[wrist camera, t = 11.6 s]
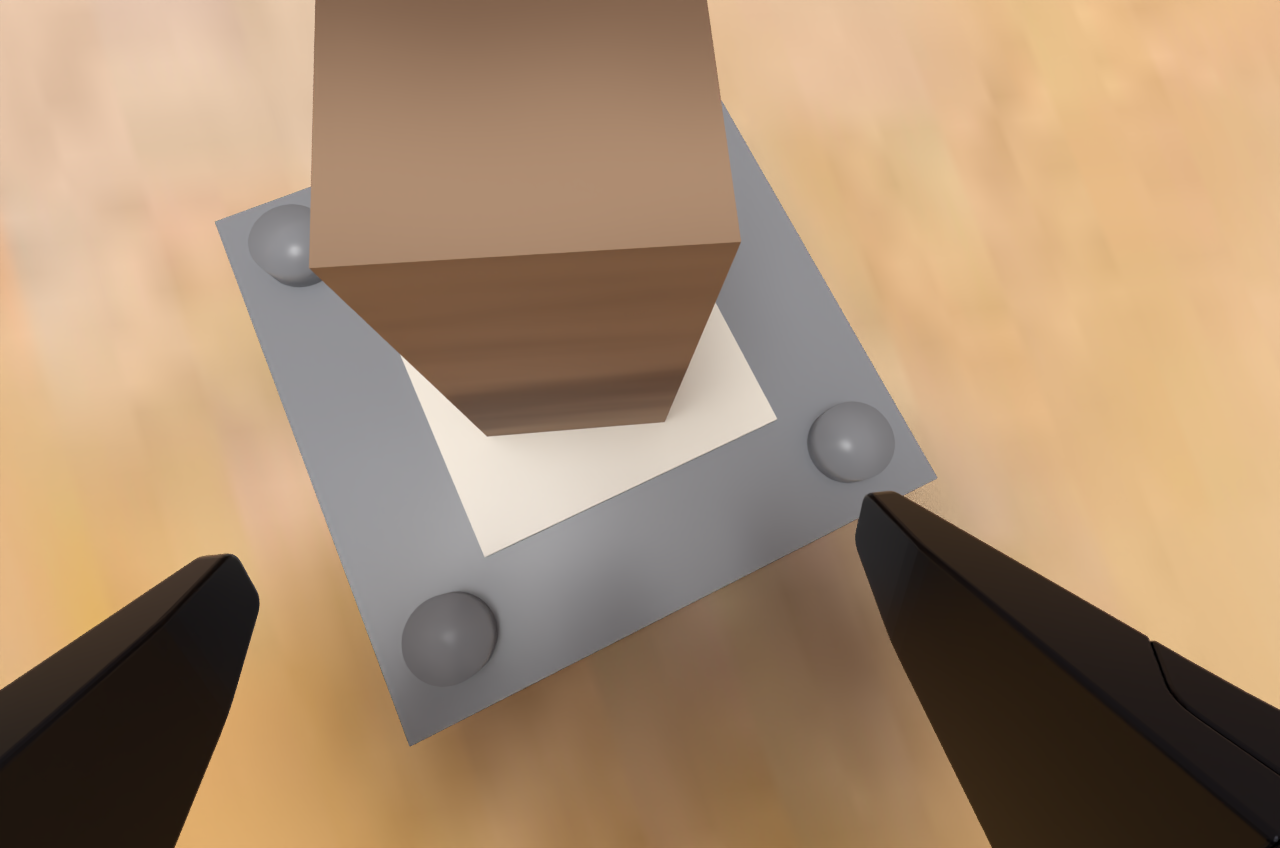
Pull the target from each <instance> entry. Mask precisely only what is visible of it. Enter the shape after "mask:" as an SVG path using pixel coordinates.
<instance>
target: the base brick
mask: <svg viewBox="0 0 1280 848" xmlns="http://www.w3.org/2000/svg"><path fill="white" fill-rule="evenodd" d="M721 103H722V111H723V118H724V125H725V132H726V139H727V146H728V153H729V160H730V167H731V174H732V181H733V188H734V195H735V202H736V209H737V216H738V223H739V230H740V237H741V243H740V246H739V248H738V251H737V253H736V255H735V258H734V260H733V262H732V265H731V267H730V269H729V272H728V274H727V276H726V279H725V281H724V284H723V286H722V288H721V291H720V293H719V295H718V298H717V300H716V302H715V305H714V307H713V309H712V312H711V314H710V317H709V319H708V321H707V324H706V326H705V328H704V331H703V333H702V335H701V338H700V340H699V342H698V345H697V347H696V350H695V352H694V354H693V357H692V359H691V361H690V364H689V366H688V368H687V371H686V373H685V375H684V378H683V380H682V383H681V385H680V387H679V390H678V392H677V394H676V397H675V399H674V401H673V404H672V406H671V408H670V411H669V413H668V416H667V418H666V420H665V422H660V423H648V424H636V425H623V426H611V427H599V428H587V429H574V430H562V431H550V432H538V433H525V434H513V435H501V436H489V437H487V436H486V435H485V434H484V433H483V432H482V431H481V430H479V429H478V428H477V427H476V426H475V425H474V424H473V423H472V422H471V421H470V420H469V419H468V418H467V417H466V416H465V415H464V414H463V413H462V412H460V411H459V410H458V409H457V408H456V407H455V406H454V405H453V404H452V403H451V402H450V401H449V400H448V399H447V398H446V397H445V396H444V395H442V394H441V393H440V392H439V391H438V390H437V389H436V388H435V387H434V386H433V385H432V384H431V383H430V382H429V381H428V380H427V379H426V378H425V377H423V376H422V375H421V374H420V373H419V372H418V371H417V370H416V369H415V368H414V367H413V366H412V365H411V364H410V363H409V362H408V361H407V360H406V359H404V358H403V357H402V356H401V355H400V354H399V353H398V352H397V351H396V350H395V349H394V348H393V347H392V346H391V345H390V344H389V343H388V342H387V341H385V340H384V339H383V338H382V337H381V336H380V335H379V334H378V333H377V332H376V331H375V330H374V329H373V328H372V327H371V326H370V325H369V324H367V323H366V322H365V321H364V320H363V319H362V318H361V317H360V316H359V315H358V314H357V313H356V312H355V311H354V310H353V309H352V308H351V307H350V306H348V305H347V304H346V303H345V302H344V301H343V300H342V299H341V298H340V297H339V296H338V295H337V294H336V293H335V292H334V291H333V290H332V289H331V288H329V287H328V286H327V285H326V284H325V283H324V282H323V281H322V280H321V279H320V278H319V277H318V276H317V275H316V274H315V273H314V272H313V271H311V270H310V269H309V248H310V207H311V187H309V188H306V189H303V190H300V191H298V192H295V193H292V194H290V195H287V196H284V197H281V198H279V199H276V200H273V201H270V202H268V203H265V204H262V205H259V206H257V207H254V208H251V209H248V210H246V211H243V212H240V213H237V214H235V215H232V216H229V217H226V218H224V219H221V220H218V221H216V222H215V224H216V226H217V229H218V232H219V234H220V237H221V240H222V243H223V245H224V248H225V251H226V253H227V256H228V259H229V261H230V264H231V267H232V269H233V272H234V275H235V278H236V280H237V283H238V286H239V288H240V291H241V294H242V296H243V299H244V302H245V304H246V307H247V310H248V313H249V315H250V318H251V321H252V323H253V326H254V329H255V331H256V334H257V337H258V339H259V342H260V345H261V348H262V350H263V353H264V356H265V358H266V361H267V364H268V366H269V369H270V372H271V374H272V377H273V380H274V383H275V385H276V388H277V391H278V393H279V396H280V399H281V401H282V404H283V407H284V410H285V412H286V415H287V418H288V420H289V423H290V426H291V428H292V431H293V434H294V436H295V439H296V442H297V445H298V447H299V450H300V453H301V455H302V458H303V461H304V463H305V466H306V469H307V471H308V474H309V477H310V480H311V482H312V485H313V488H314V490H315V493H316V496H317V498H318V501H319V504H320V506H321V509H322V512H323V515H324V517H325V520H326V523H327V525H328V528H329V531H330V533H331V536H332V539H333V541H334V544H335V547H336V550H337V552H338V555H339V558H340V560H341V563H342V566H343V568H344V571H345V574H346V576H347V579H348V582H349V585H350V587H351V590H352V593H353V595H354V598H355V601H356V603H357V606H358V609H359V612H360V614H361V617H362V620H363V622H364V625H365V628H366V630H367V633H368V636H369V638H370V641H371V644H372V647H373V649H374V652H375V655H376V657H377V660H378V663H379V665H380V668H381V671H382V673H383V676H384V679H385V682H386V684H387V687H388V690H389V692H390V695H391V698H392V700H393V703H394V706H395V708H396V711H397V714H398V717H399V719H400V722H401V725H402V727H403V730H404V733H405V735H406V738H407V741H408V743H409V746H412V745H414V744H416V743H418V742H420V741H422V740H424V739H426V738H428V737H430V736H432V735H434V734H436V733H438V732H440V731H442V730H444V729H445V728H447V727H449V726H451V725H453V724H455V723H457V722H459V721H461V720H463V719H465V718H467V717H469V716H471V715H473V714H475V713H477V712H479V711H481V710H483V709H485V708H487V707H489V706H491V705H493V704H495V703H497V702H499V701H500V700H502V699H504V698H506V697H508V696H510V695H512V694H514V693H516V692H518V691H520V690H522V689H524V688H526V687H528V686H530V685H532V684H534V683H536V682H538V681H540V680H542V679H544V678H546V677H548V676H550V675H552V674H554V673H556V672H557V671H559V670H561V669H563V668H565V667H567V666H569V665H571V664H573V663H575V662H577V661H579V660H581V659H583V658H585V657H587V656H589V655H591V654H593V653H595V652H597V651H599V650H601V649H603V648H605V647H607V646H609V645H611V644H612V643H614V642H616V641H618V640H620V639H622V638H624V637H626V636H628V635H630V634H632V633H634V632H636V631H638V630H640V629H642V628H644V627H646V626H648V625H650V624H652V623H654V622H656V621H658V620H660V619H662V618H664V617H666V616H667V615H669V614H671V613H673V612H675V611H677V610H679V609H681V608H683V607H685V606H687V605H689V604H691V603H693V602H695V601H697V600H699V599H701V598H703V597H705V596H707V595H709V594H711V593H713V592H715V591H717V590H719V589H721V588H723V587H724V586H726V585H728V584H730V583H732V582H734V581H736V580H738V579H740V578H742V577H744V576H746V575H748V574H750V573H752V572H754V571H756V570H758V569H760V568H762V567H764V566H766V565H768V564H770V563H772V562H774V561H776V560H778V559H779V558H781V557H783V556H785V555H787V554H789V553H791V552H793V551H795V550H797V549H799V548H801V547H803V546H805V545H807V544H809V543H811V542H813V541H815V540H817V539H819V538H821V537H823V536H825V535H827V534H829V533H831V532H833V531H835V530H836V529H838V528H840V527H842V526H844V525H846V524H848V523H850V522H852V521H854V520H856V519H858V518H859V515H860V510H861V506H862V501H863V499H864V497H865V495H867V494H868V493H871V492H882V491H895V492H897V493H899V494H901V495H905V494H907V493H909V492H911V491H913V490H915V489H917V488H919V487H921V486H923V485H925V484H927V483H929V482H931V481H933V480H935V479H937V476H936V474H935V473H934V471H933V469H932V467H931V466H930V464H929V462H928V460H927V459H926V457H925V455H924V453H923V452H922V450H921V448H920V446H919V445H918V443H917V441H916V439H915V438H914V436H913V434H912V432H911V431H910V429H909V427H908V425H907V424H906V422H905V420H904V418H903V417H902V415H901V413H900V411H899V410H898V408H897V406H896V405H895V403H894V401H893V399H892V398H891V396H890V394H889V392H888V391H887V389H886V387H885V385H884V384H883V382H882V380H881V378H880V377H879V375H878V373H877V371H876V370H875V368H874V366H873V364H872V363H871V361H870V359H869V357H868V356H867V354H866V352H865V350H864V349H863V347H862V345H861V343H860V342H859V340H858V338H857V336H856V335H855V333H854V331H853V329H852V328H851V326H850V324H849V322H848V321H847V319H846V317H845V315H844V314H843V312H842V310H841V308H840V307H839V305H838V303H837V301H836V300H835V298H834V296H833V294H832V293H831V291H830V289H829V287H828V286H827V284H826V282H825V280H824V279H823V277H822V275H821V273H820V272H819V270H818V268H817V266H816V265H815V263H814V261H813V259H812V258H811V256H810V254H809V253H808V251H807V249H806V247H805V246H804V244H803V242H802V240H801V239H800V237H799V235H798V233H797V232H796V230H795V228H794V226H793V225H792V223H791V221H790V219H789V218H788V216H787V214H786V212H785V211H784V209H783V207H782V205H781V204H780V202H779V200H778V198H777V197H776V195H775V193H774V191H773V190H772V188H771V186H770V184H769V183H768V181H767V179H766V177H765V176H764V174H763V172H762V170H761V169H760V167H759V165H758V163H757V162H756V160H755V158H754V156H753V155H752V153H751V151H750V149H749V148H748V146H747V144H746V142H745V141H744V139H743V137H742V135H741V134H740V132H739V130H738V128H737V127H736V125H735V123H734V121H733V120H732V118H731V116H730V114H729V113H728V111H727V109H726V108H725V106H724V104H723V102H722V101H721Z"/></svg>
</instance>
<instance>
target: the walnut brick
mask: <svg viewBox="0 0 1280 848" xmlns="http://www.w3.org/2000/svg"><path fill="white" fill-rule="evenodd" d="M740 243H741V237H740V230H739V223H738V216H737V209H736V202H735V195H734V188H733V181H732V174H731V167H730V160H729V153H728V146H727V139H726V132H725V125H724V118H723V111H722V103H721V96H720V89H719V82H718V75H717V68H716V61H715V54H714V47H713V40H712V33H711V26H710V19H709V12H708V5H707V0H315V41H314V83H313V124H312V165H311V207H310V248H309V269H310V270H311V271H313V272H314V273H315V274H316V275H317V276H318V277H319V278H320V279H321V280H322V281H323V282H324V283H325V284H326V285H327V286H328V287H329V288H331V289H332V290H333V291H334V292H335V293H336V294H337V295H338V296H339V297H340V298H341V299H342V300H343V301H344V302H345V303H346V304H347V305H348V306H350V307H351V308H352V309H353V310H354V311H355V312H356V313H357V314H358V315H359V316H360V317H361V318H362V319H363V320H364V321H365V322H366V323H367V324H369V325H370V326H371V327H372V328H373V329H374V330H375V331H376V332H377V333H378V334H379V335H380V336H381V337H382V338H383V339H384V340H385V341H387V342H388V343H389V344H390V345H391V346H392V347H393V348H394V349H395V350H396V351H397V352H398V353H399V354H400V355H401V356H402V357H403V358H404V359H406V360H407V361H408V362H409V363H410V364H411V365H412V366H413V367H414V368H415V369H416V370H417V371H418V372H419V373H420V374H421V375H422V376H423V377H425V378H426V379H427V380H428V381H429V382H430V383H431V384H432V385H433V386H434V387H435V388H436V389H437V390H438V391H439V392H440V393H441V394H442V395H444V396H445V397H446V398H447V399H448V400H449V401H450V402H451V403H452V404H453V405H454V406H455V407H456V408H457V409H458V410H459V411H460V412H462V413H463V414H464V415H465V416H466V417H467V418H468V419H469V420H470V421H471V422H472V423H473V424H474V425H475V426H476V427H477V428H478V429H479V430H481V431H482V432H483V433H484V434H485V435H486V436H487V437H489V436H501V435H513V434H525V433H538V432H550V431H562V430H574V429H587V428H599V427H611V426H623V425H636V424H648V423H660V422H665V420H666V418H667V416H668V413H669V411H670V408H671V406H672V404H673V401H674V399H675V397H676V394H677V392H678V390H679V387H680V385H681V383H682V380H683V378H684V375H685V373H686V371H687V368H688V366H689V364H690V361H691V359H692V357H693V354H694V352H695V350H696V347H697V345H698V342H699V340H700V338H701V335H702V333H703V331H704V328H705V326H706V324H707V321H708V319H709V317H710V314H711V312H712V309H713V307H714V305H715V302H716V300H717V298H718V295H719V293H720V291H721V288H722V286H723V284H724V281H725V279H726V276H727V274H728V272H729V269H730V267H731V265H732V262H733V260H734V258H735V255H736V253H737V251H738V248H739V246H740Z"/></svg>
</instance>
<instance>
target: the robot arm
mask: <svg viewBox="0 0 1280 848" xmlns="http://www.w3.org/2000/svg"><path fill="white" fill-rule="evenodd" d="M855 541H856V547H857V551H858V554H859V556H860V559H861V562H862V565H863V567H864V570H865V573H866V576H867V578H868V581H869V584H870V587H871V589H872V592H873V595H874V598H875V600H876V603H877V606H878V609H879V611H880V614H881V617H882V620H883V622H884V625H885V628H886V630H887V633H888V635H889V638H890V640H891V643H892V645H893V647H894V649H895V651H896V653H897V656H898V658H899V660H900V662H901V664H902V666H903V668H904V670H905V672H906V674H907V676H908V678H909V680H910V682H911V684H912V686H913V688H914V690H915V692H916V694H917V696H918V698H919V700H920V702H921V704H922V706H923V709H924V711H925V713H926V715H927V717H928V719H929V721H930V723H931V725H932V727H933V729H934V731H935V733H936V735H937V737H938V739H939V741H940V743H941V745H942V747H943V749H944V751H945V753H946V755H947V757H948V759H949V761H950V763H951V765H952V767H953V769H954V771H955V773H956V776H957V778H958V780H959V782H960V784H961V786H962V788H963V790H964V792H965V794H966V796H967V798H968V800H969V802H970V804H971V806H972V808H973V810H974V812H975V814H976V816H977V818H978V820H979V822H980V824H981V826H982V828H983V830H984V832H985V834H986V836H987V838H988V840H989V843H990V845H991V847H992V848H1280V709H1278V708H1276V707H1274V706H1272V705H1270V704H1268V703H1266V702H1264V701H1262V700H1261V699H1259V698H1257V697H1255V696H1253V695H1251V694H1249V693H1247V692H1245V691H1244V690H1242V689H1240V688H1238V687H1236V686H1235V685H1233V684H1231V683H1229V682H1227V681H1226V680H1224V679H1222V678H1220V677H1218V676H1217V675H1215V674H1213V673H1211V672H1209V671H1208V670H1206V669H1204V668H1202V667H1200V666H1199V665H1197V664H1195V663H1193V662H1191V661H1190V660H1188V659H1186V658H1184V657H1183V656H1181V655H1179V654H1178V653H1176V652H1174V651H1172V650H1171V649H1169V648H1167V647H1165V646H1164V645H1162V644H1160V643H1158V642H1157V641H1150V640H1149V638H1148V637H1147V636H1146V635H1144V634H1142V633H1141V632H1139V631H1137V630H1136V629H1134V628H1132V627H1130V626H1129V625H1127V624H1125V623H1123V622H1122V621H1120V620H1118V619H1116V618H1115V617H1113V616H1111V615H1109V614H1108V613H1106V612H1104V611H1102V610H1101V609H1099V608H1097V607H1096V606H1094V605H1092V604H1090V603H1089V602H1087V601H1085V600H1083V599H1082V598H1080V597H1078V596H1076V595H1075V594H1073V593H1071V592H1069V591H1068V590H1066V589H1064V588H1063V587H1061V586H1059V585H1057V584H1056V583H1054V582H1052V581H1050V580H1049V579H1047V578H1045V577H1043V576H1042V575H1040V574H1038V573H1036V572H1035V571H1033V570H1031V569H1029V568H1028V567H1026V566H1024V565H1023V564H1021V563H1019V562H1017V561H1016V560H1014V559H1012V558H1010V557H1009V556H1007V555H1005V554H1003V553H1002V552H1000V551H998V550H996V549H995V548H993V547H991V546H989V545H988V544H986V543H984V542H983V541H981V540H979V539H977V538H976V537H974V536H972V535H970V534H969V533H967V532H965V531H963V530H962V529H960V528H958V527H956V526H955V525H953V524H951V523H950V522H948V521H946V520H944V519H943V518H941V517H939V516H937V515H936V514H934V513H932V512H930V511H929V510H927V509H925V508H923V507H922V506H920V505H918V504H916V503H915V502H913V501H911V500H910V499H908V498H906V497H904V496H903V495H901V494H899V493H897V492H895V491H882V492H871V493H868V494H867V495H865V497H864V499H863V501H862V506H861V510H860V515H859V519H858V524H857V529H856V534H855ZM259 604H260V603H259V596H258V593H257V590H256V589H255V587H254V585H253V583H252V581H251V580H250V578H249V576H248V574H247V572H246V570H245V569H244V567H243V565H242V563H241V561H240V560H239V559H238V558H237V557H236V556H235V555H233V554H218V555H208V556H202V557H199V558H197V559H195V560H193V561H192V562H190V563H189V564H187V565H186V566H184V567H183V568H181V569H180V570H179V571H177V572H176V573H174V574H173V575H171V576H170V577H168V578H167V579H165V580H164V581H162V582H161V583H159V584H158V585H156V586H155V587H153V588H152V589H150V590H149V591H147V592H146V593H144V594H143V595H141V596H140V597H138V598H137V599H135V600H134V601H132V602H131V603H129V604H128V605H126V606H125V607H123V608H122V609H120V610H119V611H117V612H116V613H114V614H113V615H112V616H110V617H109V618H107V619H106V620H104V621H103V622H101V623H100V624H98V625H97V626H95V627H94V628H92V629H91V630H89V631H88V632H86V633H85V634H83V635H82V636H80V637H79V638H77V639H76V640H74V641H73V642H71V643H70V644H68V645H67V646H65V647H64V648H62V649H61V650H59V651H58V652H56V653H55V654H53V655H52V656H50V657H49V658H47V659H46V660H44V661H43V662H42V663H40V664H39V665H37V666H36V667H34V668H33V669H31V670H30V671H28V672H27V673H25V674H24V675H22V676H21V677H19V678H18V679H16V680H15V681H13V682H12V683H10V684H9V685H7V686H6V687H4V688H3V689H1V690H0V848H175V845H176V843H177V840H178V838H179V835H180V833H181V831H182V828H183V826H184V823H185V821H186V818H187V816H188V813H189V811H190V808H191V806H192V804H193V801H194V799H195V796H196V794H197V791H198V789H199V786H200V784H201V781H202V779H203V777H204V774H205V772H206V769H207V767H208V764H209V762H210V759H211V757H212V755H213V752H214V750H215V747H216V745H217V742H218V740H219V737H220V735H221V732H222V730H223V727H224V724H225V722H226V719H227V716H228V713H229V710H230V707H231V704H232V701H233V698H234V695H235V691H236V688H237V684H238V681H239V677H240V674H241V671H242V667H243V664H244V660H245V657H246V653H247V650H248V646H249V643H250V640H251V636H252V633H253V629H254V626H255V622H256V619H257V615H258V612H259Z"/></svg>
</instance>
